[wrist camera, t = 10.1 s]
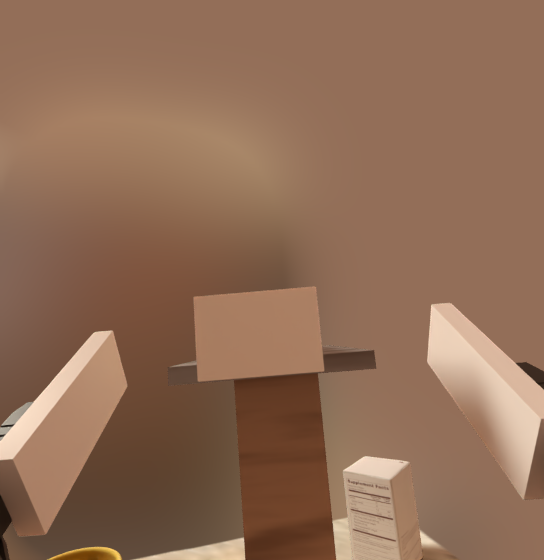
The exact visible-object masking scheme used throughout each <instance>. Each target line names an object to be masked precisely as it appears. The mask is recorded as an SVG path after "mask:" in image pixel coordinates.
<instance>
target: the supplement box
mask: <svg viewBox="0 0 544 560" xmlns="http://www.w3.org/2000/svg"><path fill="white" fill-rule="evenodd" d="M343 476H344V485H345V494H346V504H347V513H348V522H349V532H350V541H351V550H352V558H353V560H421V559H422V557H423V553H422V546H421V538H420V531H419V524H418V517H417V509H416V502H415V495H414V488H413V481H412V473H411V466H410V463H409V462H406V461H399V460H392V459H383V458H376V457H367V456H365V457H363V458H361V459H360V460H358V461H357V462H355V463H354V464H353V465H351V466H350V467H348V468H346V469H345V470H343Z"/></svg>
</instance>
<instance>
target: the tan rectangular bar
mask: <svg viewBox="0 0 544 560" xmlns="http://www.w3.org/2000/svg"><path fill="white" fill-rule="evenodd" d="M194 317H195V337H196V357H197V377H198V382H201V381H213V380H225V379H237V378H250V377H262V376H274V375H286V374H298V373H311V372H323V371H324V361H323V351H322V342H321V332H320V322H319V312H318V303H317V292H316V287H304V288H292V289H281V290H269V291H258V292H245V293H234V294H222V295H210V296H198V297H194Z"/></svg>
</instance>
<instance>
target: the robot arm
mask: <svg viewBox="0 0 544 560" xmlns="http://www.w3.org/2000/svg"><path fill="white" fill-rule="evenodd" d="M430 319H431V320H430V332H429V346H428V359H427V362H428V364H429V365H430V367H431V368H432V370H433V371H434V373H435V374H436V375H437V377H438V378H439V380H440V381H441V383H442V384H443V385H444V387H445V388H446V390H447V391H448V392H449V394H450V395H451V397H452V398H453V400H454V401H455V403H456V404H457V405H458V407H459V408H460V410H461V411H462V413H463V414H464V416H465V417H466V418H467V420H468V421H469V423H470V424H471V426H472V427H473V428H474V430H475V431H476V433H477V434H478V436H479V437H480V438H481V440H482V441H483V443H484V444H485V445H486V447H487V448H488V450H489V451H490V453H491V454H492V455H493V457H494V459H495V460H496V461H497V463H498V464H499V466H500V467H501V469H502V470H503V471H504V473H505V474H506V476H507V477H508V478H509V480H510V481H511V483H512V484H513V486H514V487H515V489H516V490H517V491H518V493H519V494H520V496H521V497H522V499H523V500H533V499H544V371H542V370H540V369H538V368H536V367H534V366H532V365H530V364H528V363H526V362H524V363H514V362H513V361H512V360H511V359H510V358H509V357H508V356H507V355H506V354H504V352H503V351H502V350H500V349H499V348H498V347H497V346H496V345H495V344H494V343H493V342H492V341H491V340H490V339H489V338H488V337H487V336H485V335H484V334H483V333H482V332H481V331H480V330H479V329H478V328H477V327H476V326H475V325H474V324H473V323H471V322H470V321H469V320H468V319H467V318H466V317H465V316H464V315H463V314H462V313H461V312H460V311H459V310H457V309H456V308H455V307H454V306H453V305H452V304H451V303H444V304H432V305H431V318H430ZM126 388H127V382H126V379H125V375H124V371H123V367H122V364H121V360H120V356H119V353H118V349H117V345H116V341H115V338H114V334H113V331H102V332H94V333H93V334H92V336H91V337H90V338H89V339H88V340H87V341H86V342H85V344H84V345H83V346H82V347H81V348H80V349H79V350H78V352H77V353H76V354H75V355H74V356H73V357H72V359H71V360H70V361H69V362H68V363H67V364H66V366H65V367H64V368H63V369H62V370H61V371H60V373H59V374H58V375H57V376H56V377H55V378H54V379H53V381H52V382H51V383H50V384H49V385H48V387H47V388H46V389H45V390H44V391H43V392H42V394H41V395H40V396H39V397H38V398H37V399H36V400H35V402H28V403H26V404H25V405H23V406H22V407H20V408H19V409H18V410H16V411H15V412H14V413H12V414H11V415H10V416H9V417H8V418H7V420H6V421H5V422H4V423H3V424H2V425H1V428H0V560H10V559H9V554H8V549H7V544H6V542H5V540H4V538H3V536H2V535H3V533H4V532H5V531H6V529H7V528H8V526H9V524H10V523H11V522H12V524H13V526H14V528H15V530H16V532H17V534H18V536H32V535H45V534H46V533H47V531H48V530H49V528H50V526H51V524H52V522H53V520H54V519H55V517H56V515H57V513H58V511H59V509H60V508H61V506H62V504H63V502H64V500H65V499H66V497H67V495H68V493H69V491H70V489H71V487H72V485H73V484H74V482H75V480H76V478H77V477H78V475H79V473H80V471H81V469H82V468H83V466H84V464H85V462H86V460H87V458H88V457H89V454H90V453H91V451H92V449H93V448H94V446H95V444H96V442H97V440H98V439H99V437H100V435H101V433H102V431H103V429H104V427H105V426H106V424H107V422H108V420H109V418H110V416H111V415H112V413H113V411H114V409H115V407H116V406H117V404H118V402H119V400H120V398H121V397H122V395H123V393H124V391H125V389H126Z"/></svg>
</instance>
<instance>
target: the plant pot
mask: <svg viewBox="0 0 544 560" xmlns="http://www.w3.org/2000/svg"><path fill="white" fill-rule="evenodd" d="M48 560H122V557H121V555H120V554H119V553H118V552H117V551H115V550H113V549H111V548H106V547H90V548H83V549H78V550H73V551H70V552H67V553H63V554H61V555H57V556H55V557H52V558H50V559H48Z"/></svg>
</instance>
